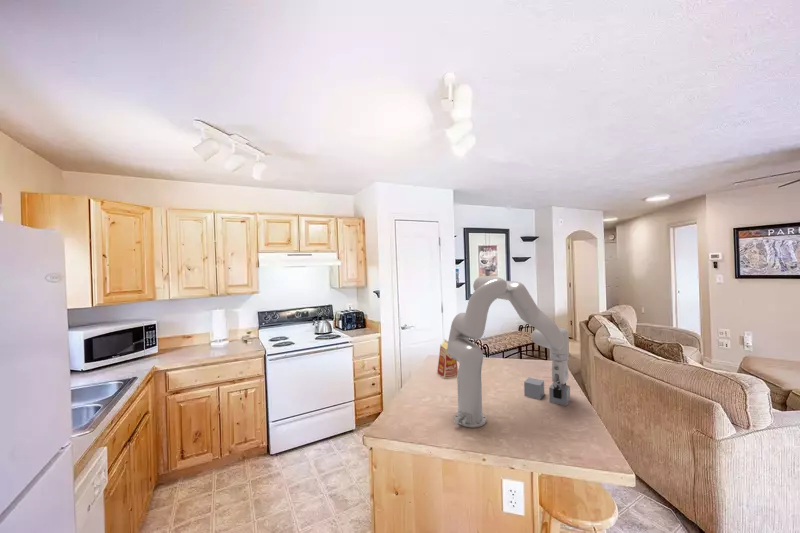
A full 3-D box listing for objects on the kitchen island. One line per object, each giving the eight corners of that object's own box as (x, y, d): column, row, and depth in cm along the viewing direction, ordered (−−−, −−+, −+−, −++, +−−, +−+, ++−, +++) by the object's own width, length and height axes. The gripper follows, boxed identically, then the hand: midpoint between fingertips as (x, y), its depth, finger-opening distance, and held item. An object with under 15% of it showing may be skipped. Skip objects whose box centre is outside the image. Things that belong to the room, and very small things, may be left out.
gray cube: (540, 399, 145) (539, 385, 145) (524, 395, 150) (524, 382, 150) (544, 394, 151) (544, 380, 151) (529, 390, 155) (528, 377, 155)
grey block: (566, 406, 138) (566, 391, 138) (549, 401, 143) (549, 387, 143) (570, 400, 144) (570, 385, 144) (553, 396, 148) (553, 382, 148)
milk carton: (436, 374, 181) (435, 339, 180) (450, 371, 184) (449, 337, 184) (445, 379, 172) (444, 342, 172) (459, 376, 176) (458, 340, 176)
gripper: (564, 362, 134) (564, 403, 134) (572, 352, 147) (573, 389, 148) (544, 359, 138) (545, 399, 139) (554, 349, 152) (555, 386, 152)
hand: (559, 394), depth 143 cm, fingers open, 8 cm apart
